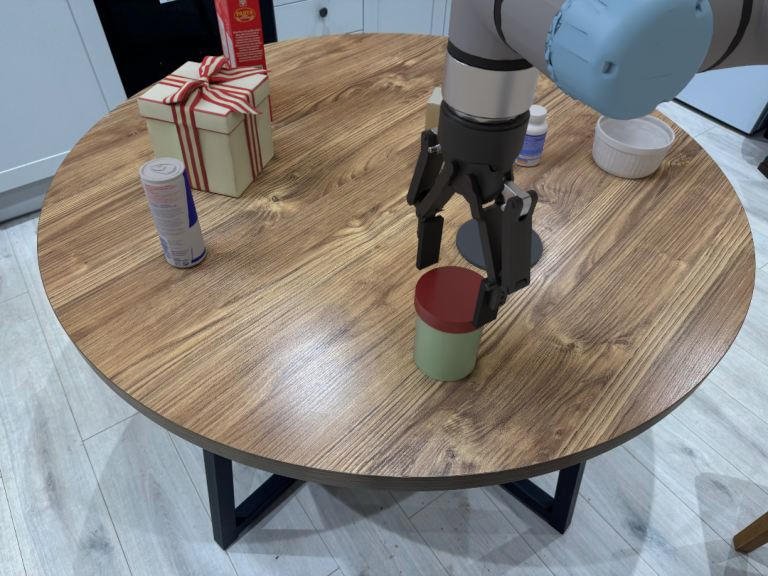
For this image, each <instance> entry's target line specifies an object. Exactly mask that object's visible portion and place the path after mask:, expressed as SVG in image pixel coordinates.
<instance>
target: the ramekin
mask: <svg viewBox="0 0 768 576" xmlns="http://www.w3.org/2000/svg"><path fill="white" fill-rule="evenodd" d="M594 131H595V132H594V137H593V142H592V147H591V149H592V150H591V156H592V158H593V160H594V162H595V164H596V166H598V167H599V168H600V169H601V170H603V171H604V172H606V173H608V174H609V175H611V176H615V177H619V178H623V179H632V180H635V179H643V178H646V177H648V176H650V175H651V174H654V173H655V172H656V171H657V169H659V167H660V166H661V165H662V163H663V161H664V158H665V157H666V156H667V154H668V152H669V151H670V150H671V149H672V147H673V146H674V143H675V141H676V133H675V132H674V130H673V128H672V127H671V126H670V125H669V124H668V123H666V122H665V121H664V120H662V119H660V118H658V117H656V116H653V115H651V114H649V115H646V116H644V117H640V118H637V119H631V120H616V119H612V118H609V117H606V116H603V115H602V114H601V116H599V118H597V121H596V124H595V127H594Z"/></svg>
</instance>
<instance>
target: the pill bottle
mask: <svg viewBox="0 0 768 576" xmlns="http://www.w3.org/2000/svg"><path fill="white" fill-rule="evenodd" d="M529 110H530V119H529V123H528V128H527V132H526V136H525V141H524V145H523V148H522V150H521V152H520V154H519V155H518V157H517V158H516V160H515V162H514V164H515V165H517V166H519V167H527V168H528V167H534V166H536V165H538V164H539V163H540V162H541V159H542V153H543V150H544V145H545V143H546V138H547V135H548V130H549V129H548V128H549V125H548V122H547V121H546V119H547V115H548V109H547V108H546V107H544V106H543V105H539V104H532V106H531V107H530V109H529Z"/></svg>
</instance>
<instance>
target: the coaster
mask: <svg viewBox="0 0 768 576" xmlns="http://www.w3.org/2000/svg"><path fill="white" fill-rule="evenodd" d="M455 245H456V246H455V247H456V249H457V251H458V252H459V254H460V255H461V257H463V258H464V259H465V260H466V261H467V262H468V263H470V265H473V266H474V267H476V268H478V269H481V270H484V271H486V266H485V261H484V255H483V250H482V245H481V239H480V234H479V228H478V223H477V220H475V219H473V218H471V219H469V220H467V221H465V222H464V223H463V224H462V225H461V226H460V227H459V228H458V230H457V231H456V235H455ZM543 250H544V245H543V241H542V239H541V237H540V236H539V234H538V233H537V232H536V231H535V230H534V229H533V228H532V244H531V268H533V267H534V266H535V265H536V264H537V263H539V261H540V260H541V257H542V254H543Z"/></svg>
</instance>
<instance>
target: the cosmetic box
mask: <svg viewBox="0 0 768 576" xmlns="http://www.w3.org/2000/svg"><path fill="white" fill-rule="evenodd" d="M441 89H442V86H435V87H434V88H433V90H432V92H430V95H429V97H428V99H427V101H426V106H425V107H426V108H425V119H424V120H425V121H424V131H425V130H429V129H432V128H435V127H438V122H439V113H440V104H441V101H442V100H443V97H442V94H441ZM444 165H445V162H443V165H442V167H441V170H443V166H444Z"/></svg>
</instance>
